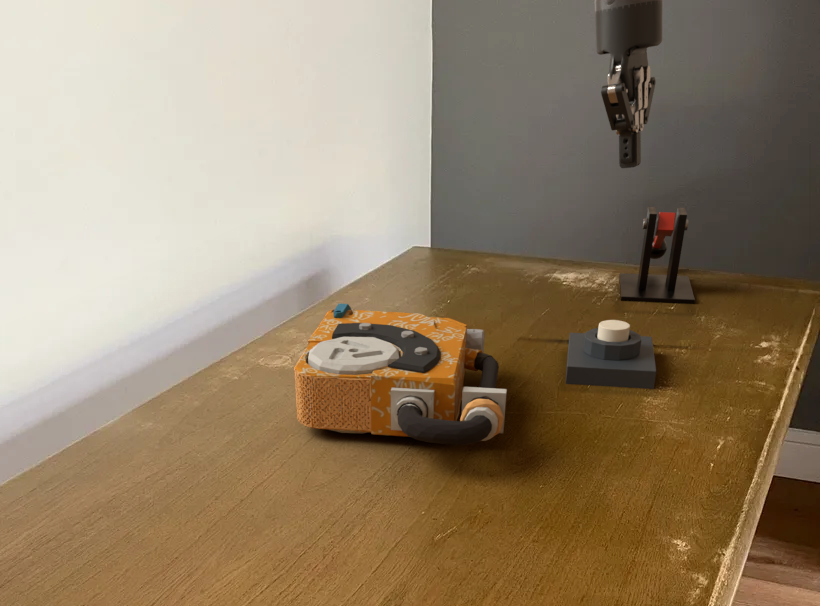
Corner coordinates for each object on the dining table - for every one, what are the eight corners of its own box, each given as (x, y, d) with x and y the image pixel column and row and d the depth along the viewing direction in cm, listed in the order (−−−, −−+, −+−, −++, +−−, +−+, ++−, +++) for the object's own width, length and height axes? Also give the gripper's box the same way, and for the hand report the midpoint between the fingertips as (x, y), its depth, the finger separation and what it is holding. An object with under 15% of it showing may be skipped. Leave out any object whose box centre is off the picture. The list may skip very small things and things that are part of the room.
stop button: (597, 333, 115) (598, 318, 114) (627, 334, 115) (629, 320, 114) (597, 343, 112) (598, 328, 111) (628, 345, 112) (630, 330, 111)
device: (517, 300, 111) (504, 398, 87) (511, 368, 116) (498, 480, 92) (326, 293, 115) (263, 385, 90) (329, 359, 119) (269, 465, 95)
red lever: (642, 261, 146) (644, 239, 146) (664, 262, 146) (666, 240, 146) (653, 232, 133) (656, 208, 132) (677, 233, 132) (679, 209, 132)
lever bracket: (618, 283, 145) (629, 200, 138) (686, 285, 143) (700, 202, 137) (619, 307, 135) (631, 219, 129) (693, 310, 134) (708, 221, 127)
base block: (567, 349, 121) (571, 318, 119) (649, 353, 120) (654, 322, 117) (565, 384, 112) (568, 351, 109) (653, 389, 110) (659, 355, 108)
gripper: (641, -3, 103) (643, 171, 111) (678, -4, 113) (676, 157, 121) (575, 10, 107) (581, 177, 115) (616, 8, 117) (618, 163, 125)
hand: (630, 166), depth 118 cm, fingers closed
